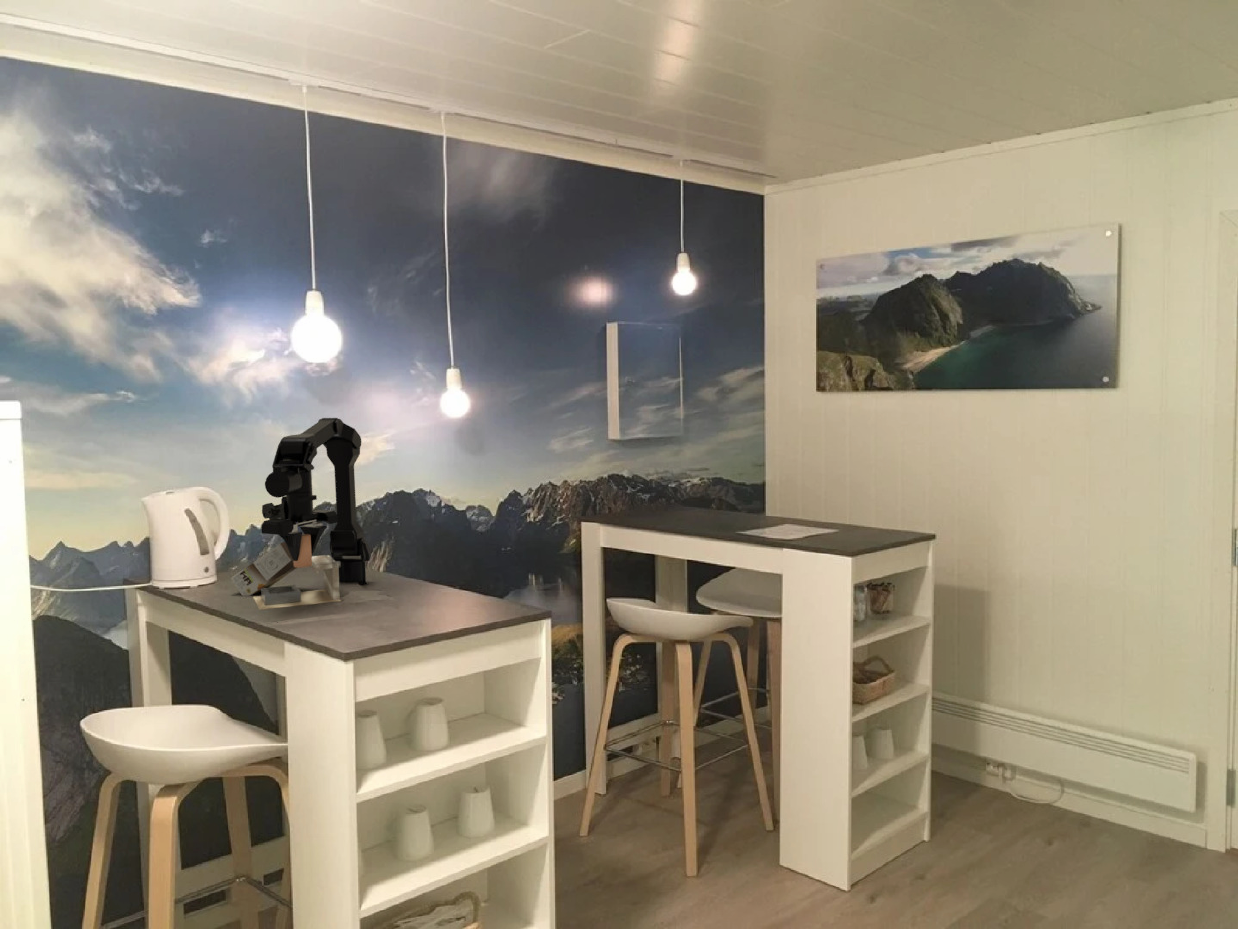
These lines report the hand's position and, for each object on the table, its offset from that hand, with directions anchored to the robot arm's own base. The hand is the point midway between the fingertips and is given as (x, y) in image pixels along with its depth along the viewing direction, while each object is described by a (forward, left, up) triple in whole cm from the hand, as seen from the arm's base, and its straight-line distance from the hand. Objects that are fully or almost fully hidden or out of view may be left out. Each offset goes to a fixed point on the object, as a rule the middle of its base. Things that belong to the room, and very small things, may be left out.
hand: (302, 559), depth 224 cm
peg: (0, 0, -2) cm, 2 cm away
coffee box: (+10, -22, -9) cm, 26 cm away
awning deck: (+1, -7, -12) cm, 14 cm away
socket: (+4, -7, -11) cm, 14 cm away
